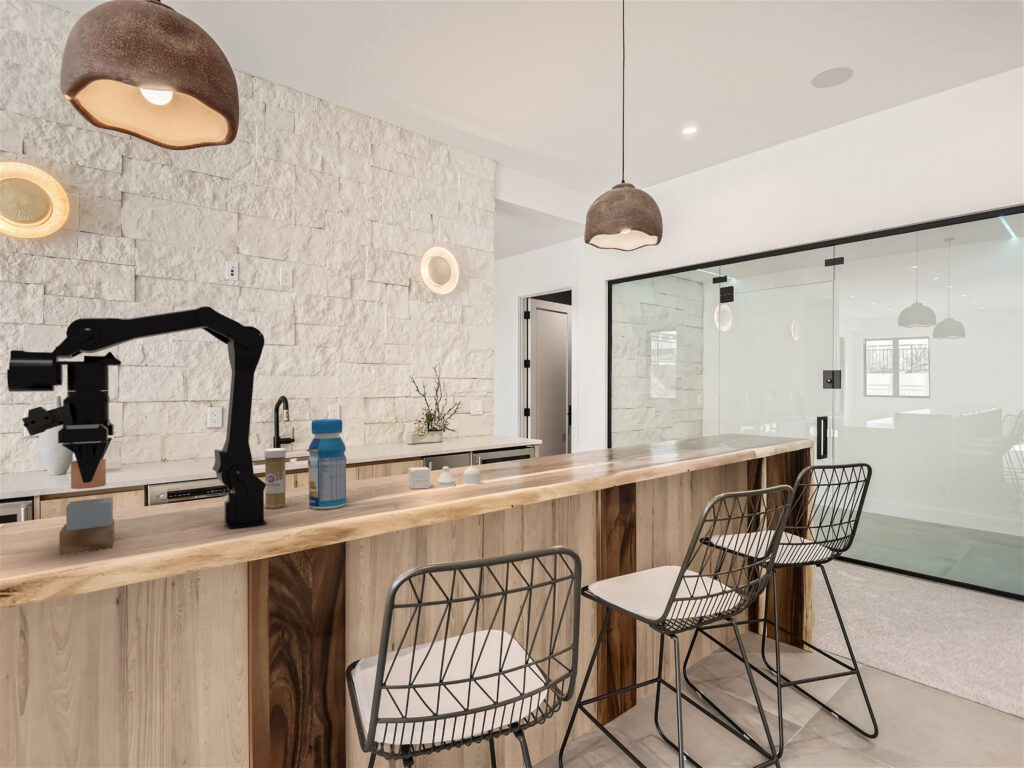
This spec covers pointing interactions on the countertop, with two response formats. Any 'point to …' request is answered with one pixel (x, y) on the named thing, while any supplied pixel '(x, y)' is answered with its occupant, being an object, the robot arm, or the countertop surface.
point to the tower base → (86, 539)
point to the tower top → (89, 514)
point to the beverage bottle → (327, 465)
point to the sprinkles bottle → (275, 477)
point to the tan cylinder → (97, 480)
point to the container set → (441, 477)
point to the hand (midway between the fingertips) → (88, 480)
